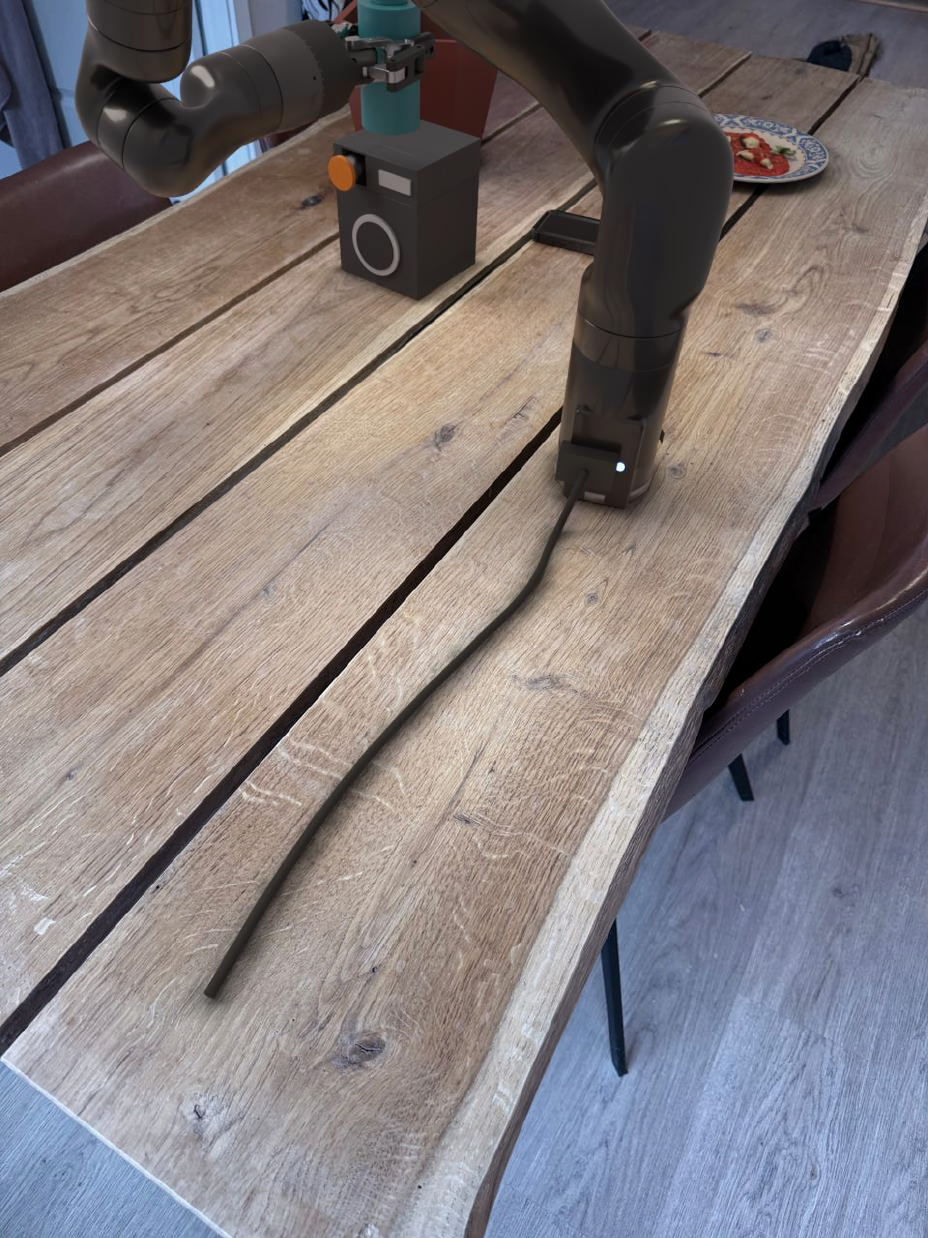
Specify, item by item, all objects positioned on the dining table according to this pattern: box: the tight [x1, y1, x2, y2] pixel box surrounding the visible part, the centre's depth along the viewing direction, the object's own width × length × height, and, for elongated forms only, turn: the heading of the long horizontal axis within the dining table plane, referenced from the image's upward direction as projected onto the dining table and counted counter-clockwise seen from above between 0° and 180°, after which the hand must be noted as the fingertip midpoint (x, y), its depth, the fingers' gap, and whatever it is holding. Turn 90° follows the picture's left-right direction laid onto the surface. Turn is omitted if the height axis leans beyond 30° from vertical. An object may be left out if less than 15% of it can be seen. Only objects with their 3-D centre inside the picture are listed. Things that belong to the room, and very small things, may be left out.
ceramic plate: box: [712, 113, 830, 184], centre depth 139 cm, size 26×26×3 cm
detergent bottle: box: [357, 0, 420, 136], centre depth 89 cm, size 6×6×14 cm
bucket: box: [333, 0, 499, 143], centre depth 127 cm, size 24×22×25 cm
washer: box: [332, 119, 482, 301], centre depth 108 cm, size 13×12×15 cm
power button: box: [327, 152, 366, 191], centre depth 102 cm, size 4×4×4 cm
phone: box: [530, 208, 600, 256], centre depth 120 cm, size 8×1×15 cm
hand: (404, 36), depth 90 cm, fingers closed on detergent bottle, 6 cm apart
